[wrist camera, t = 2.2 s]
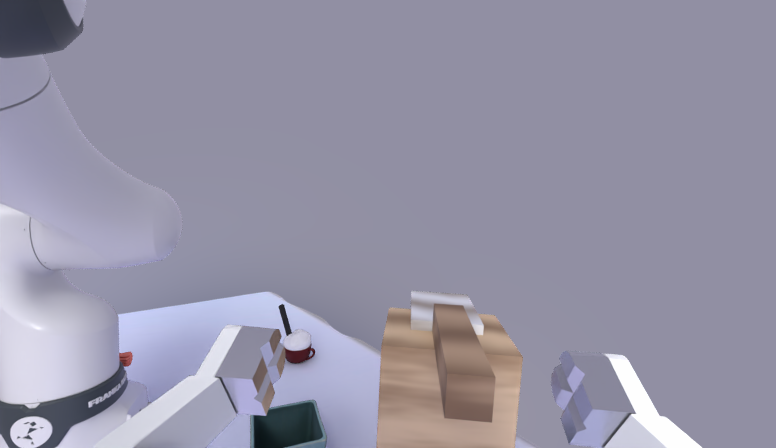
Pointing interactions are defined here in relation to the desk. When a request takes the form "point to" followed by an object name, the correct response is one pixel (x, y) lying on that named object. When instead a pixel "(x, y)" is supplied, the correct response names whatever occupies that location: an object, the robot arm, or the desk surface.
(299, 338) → the cocoa
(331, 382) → the desk surface
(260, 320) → the desk surface
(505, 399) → the oak stand
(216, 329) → the desk surface
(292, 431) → the flower pot
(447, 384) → the turner
